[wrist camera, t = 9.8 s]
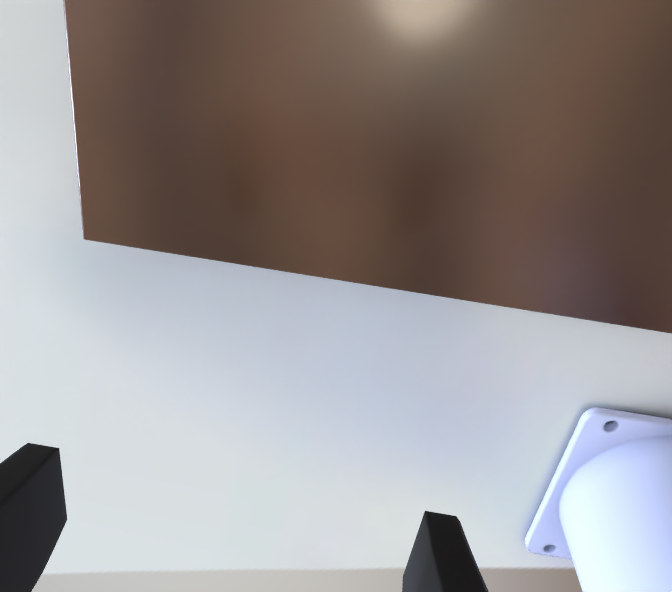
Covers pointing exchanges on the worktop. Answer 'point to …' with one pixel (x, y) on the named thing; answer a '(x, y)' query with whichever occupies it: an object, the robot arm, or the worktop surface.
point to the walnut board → (389, 143)
